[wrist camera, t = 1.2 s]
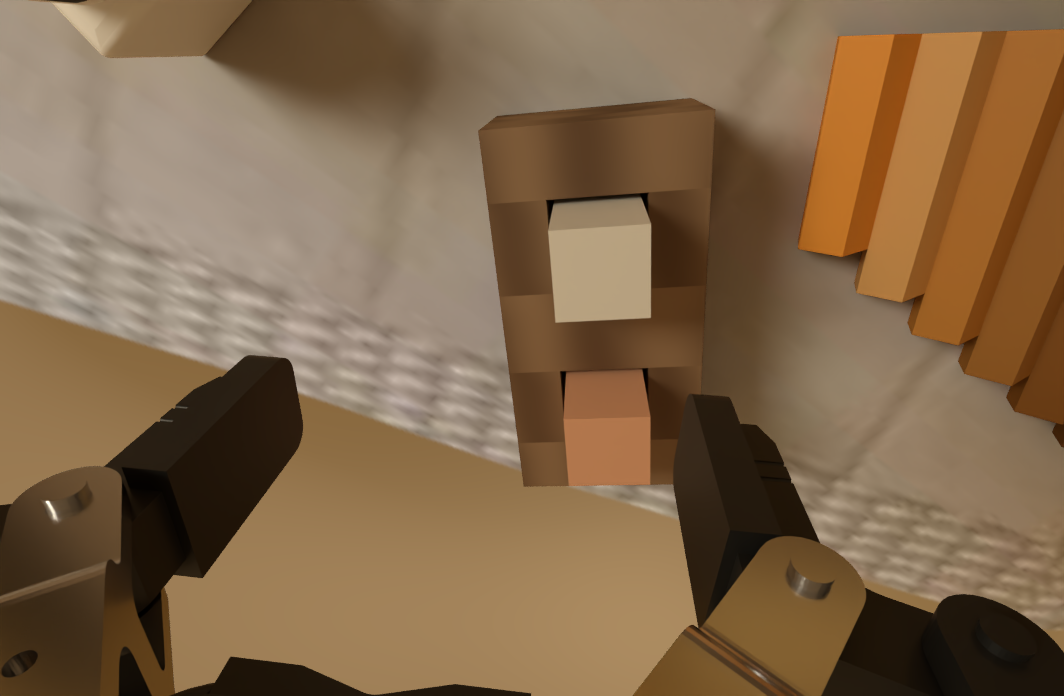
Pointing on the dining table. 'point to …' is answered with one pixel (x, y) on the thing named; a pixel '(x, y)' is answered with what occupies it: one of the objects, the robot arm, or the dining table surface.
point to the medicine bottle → (151, 25)
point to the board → (525, 267)
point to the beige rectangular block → (600, 258)
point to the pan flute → (954, 195)
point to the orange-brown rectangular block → (607, 427)
